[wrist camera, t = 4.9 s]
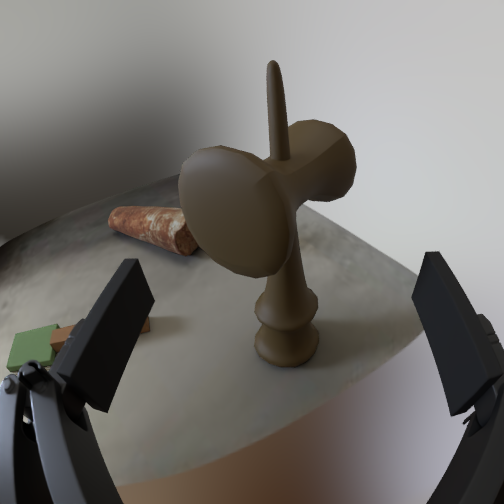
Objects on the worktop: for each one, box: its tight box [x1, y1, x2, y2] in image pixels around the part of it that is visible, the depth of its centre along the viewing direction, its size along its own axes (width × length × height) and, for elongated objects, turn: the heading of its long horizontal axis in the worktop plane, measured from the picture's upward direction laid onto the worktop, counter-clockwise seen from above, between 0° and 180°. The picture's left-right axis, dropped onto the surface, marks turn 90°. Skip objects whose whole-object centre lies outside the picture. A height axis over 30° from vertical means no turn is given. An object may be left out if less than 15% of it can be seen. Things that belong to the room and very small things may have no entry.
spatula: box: [7, 317, 150, 372], centre depth 23 cm, size 18×5×1 cm, turn 109°
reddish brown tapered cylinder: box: [108, 206, 199, 256], centre depth 37 cm, size 6×19×6 cm, turn 57°
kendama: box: [178, 60, 357, 367], centre depth 16 cm, size 6×10×20 cm, turn 143°
